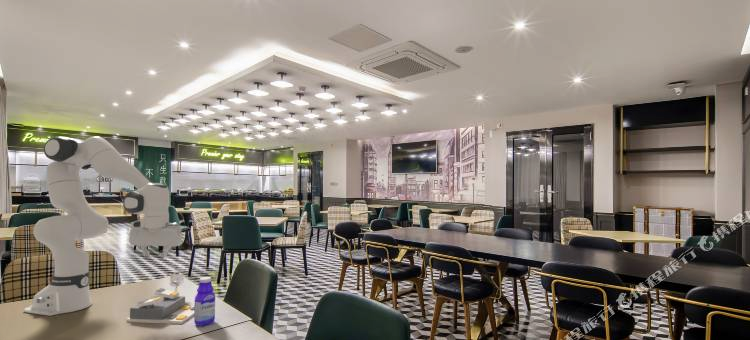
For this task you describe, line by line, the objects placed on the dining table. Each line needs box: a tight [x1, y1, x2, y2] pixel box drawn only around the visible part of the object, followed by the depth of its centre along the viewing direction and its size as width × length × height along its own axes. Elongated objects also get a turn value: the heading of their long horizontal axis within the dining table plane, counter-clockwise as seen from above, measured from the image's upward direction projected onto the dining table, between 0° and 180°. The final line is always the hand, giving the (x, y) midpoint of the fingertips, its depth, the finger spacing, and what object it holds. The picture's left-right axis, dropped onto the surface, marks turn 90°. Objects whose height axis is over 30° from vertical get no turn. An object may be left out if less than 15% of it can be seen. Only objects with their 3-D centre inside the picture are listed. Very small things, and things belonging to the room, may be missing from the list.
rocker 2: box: [154, 287, 180, 299], centre depth 151 cm, size 8×4×2 cm, turn 87°
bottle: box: [193, 276, 216, 327], centre depth 139 cm, size 7×6×17 cm
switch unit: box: [125, 294, 195, 325], centre depth 146 cm, size 22×16×6 cm
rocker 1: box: [136, 297, 164, 307], centre depth 141 cm, size 8×4×2 cm, turn 88°
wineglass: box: [168, 271, 185, 292], centre depth 164 cm, size 6×6×12 cm
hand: (155, 256), depth 147 cm, fingers open, 6 cm apart
